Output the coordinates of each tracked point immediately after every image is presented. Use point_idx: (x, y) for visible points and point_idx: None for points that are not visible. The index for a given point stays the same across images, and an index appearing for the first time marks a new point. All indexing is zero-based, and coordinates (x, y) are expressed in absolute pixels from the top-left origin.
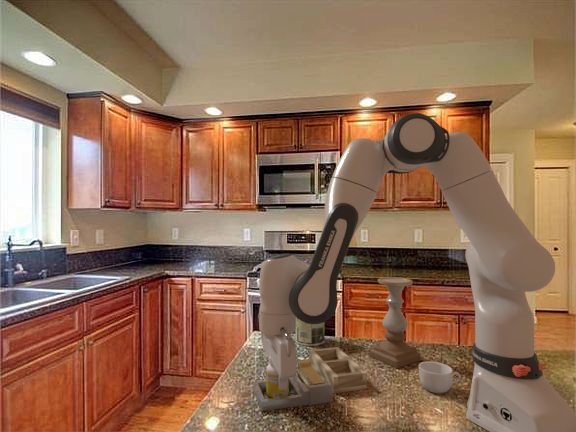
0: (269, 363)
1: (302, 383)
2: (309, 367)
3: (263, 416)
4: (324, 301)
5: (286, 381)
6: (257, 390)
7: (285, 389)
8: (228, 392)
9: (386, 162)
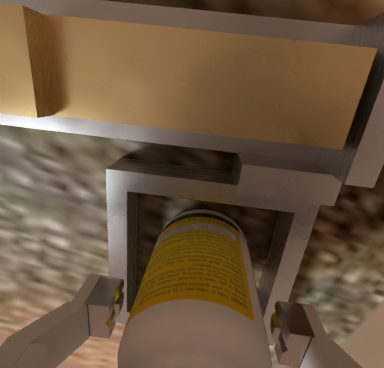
0: (73, 345)
1: (241, 174)
2: (83, 49)
3: None
4: None
5: (334, 344)
6: None
7: (251, 265)
8: (117, 351)
9: None
